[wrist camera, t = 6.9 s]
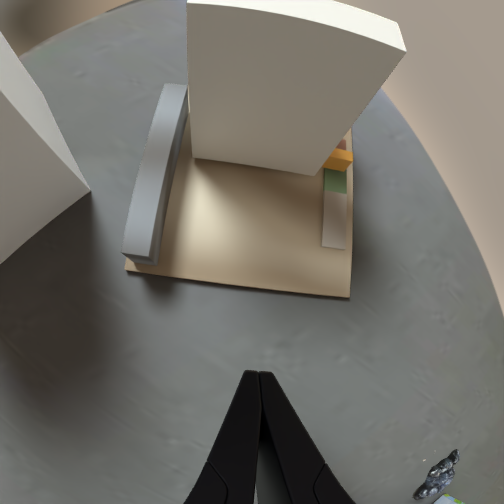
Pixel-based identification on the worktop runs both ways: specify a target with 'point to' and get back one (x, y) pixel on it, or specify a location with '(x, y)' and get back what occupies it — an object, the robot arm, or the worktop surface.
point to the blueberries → (438, 477)
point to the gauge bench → (236, 215)
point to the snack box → (447, 500)
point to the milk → (30, 158)
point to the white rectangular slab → (283, 79)
